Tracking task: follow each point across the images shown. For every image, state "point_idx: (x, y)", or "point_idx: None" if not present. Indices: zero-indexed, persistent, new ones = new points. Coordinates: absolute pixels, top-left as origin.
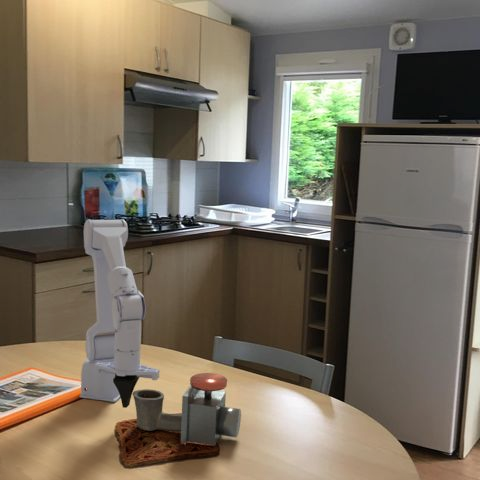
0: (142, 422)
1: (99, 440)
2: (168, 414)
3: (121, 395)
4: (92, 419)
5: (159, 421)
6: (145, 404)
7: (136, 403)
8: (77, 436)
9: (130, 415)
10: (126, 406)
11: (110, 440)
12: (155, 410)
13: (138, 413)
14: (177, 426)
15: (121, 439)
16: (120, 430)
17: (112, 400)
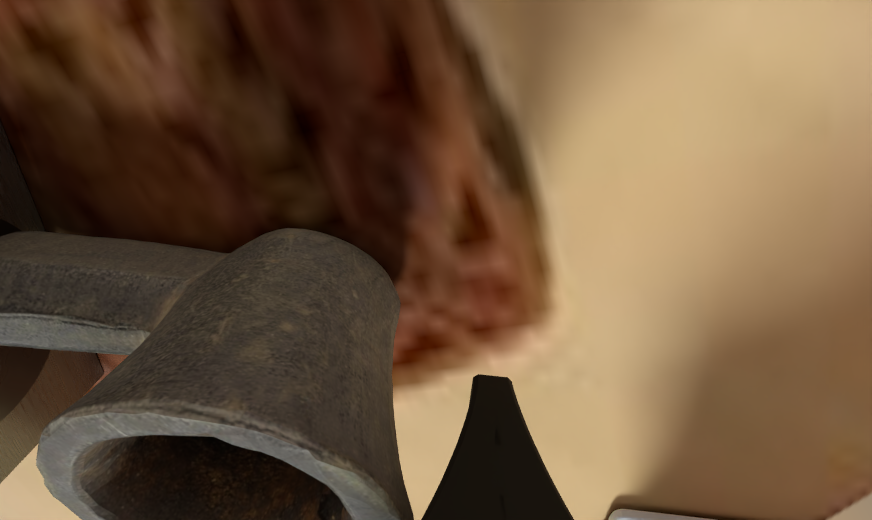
0: (315, 257)
1: (636, 6)
2: (94, 333)
3: (529, 478)
4: (734, 328)
5: (178, 275)
6: (200, 360)
7: (340, 390)
8: (860, 38)
9: None
10: (472, 385)
11: (535, 30)
12: (152, 332)
13: (340, 313)
14: (36, 243)
15: (447, 72)
16: (498, 215)
17: (632, 516)
